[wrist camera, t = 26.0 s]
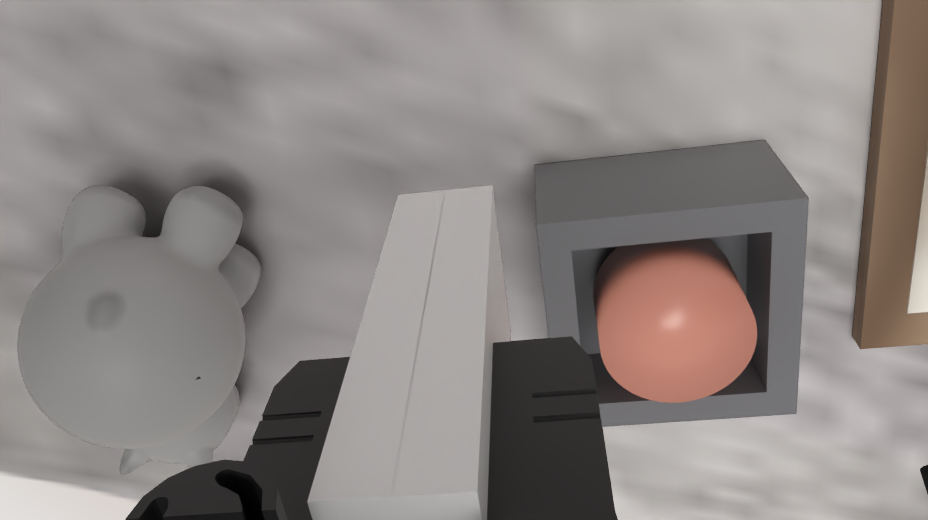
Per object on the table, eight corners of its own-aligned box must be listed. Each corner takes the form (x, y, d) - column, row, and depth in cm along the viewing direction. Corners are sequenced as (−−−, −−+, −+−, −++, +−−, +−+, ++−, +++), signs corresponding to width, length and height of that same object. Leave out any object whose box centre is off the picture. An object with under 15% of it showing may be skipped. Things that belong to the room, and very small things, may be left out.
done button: (597, 355, 29) (604, 407, 27) (588, 237, 27) (594, 281, 24) (734, 344, 29) (755, 397, 26) (736, 222, 26) (759, 266, 24)
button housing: (555, 348, 33) (559, 429, 28) (534, 164, 29) (535, 224, 25) (759, 332, 32) (796, 413, 27) (765, 139, 28) (808, 197, 24)
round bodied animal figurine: (153, 346, 38) (80, 525, 32) (54, 157, 28) (-71, 363, 23) (306, 360, 37) (258, 544, 32) (257, 172, 28) (177, 386, 23)
